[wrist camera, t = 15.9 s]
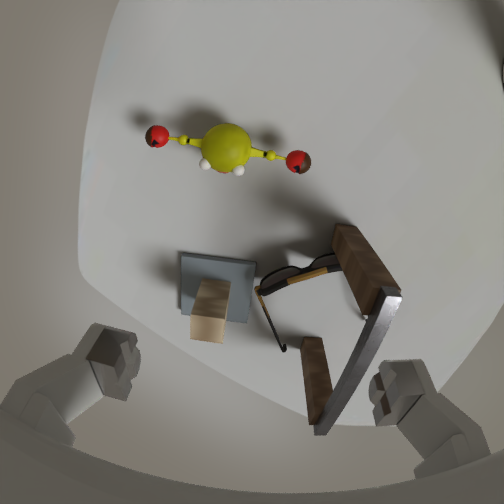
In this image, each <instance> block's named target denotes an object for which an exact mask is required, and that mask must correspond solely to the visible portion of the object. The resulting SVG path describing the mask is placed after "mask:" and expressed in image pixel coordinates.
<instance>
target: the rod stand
mask: <svg viewBox="0 0 504 504" xmlns="http://www.w3.org/2000/svg"><path fill="white" fill-rule="evenodd" d="M331 246H332V248H333V250H334V252H335V255H336V257H337V259H338V261H339V263H340V265H341V268H342V270H343V272H344V274H345V276H346V279H347V281H348V283H349V285H350V288H351V290H352V292H353V294H354V297H355V299H356V301H357V304H358V306H359V308H360V311H361V313H362V315H369V314H370V312H371V309H372V307H373V304H374V302H375V299H376V297H377V294H378V292H379V289H380V286H389V287H396V288H397V290H398V291H399V293H400V292H401V289H400V287H399V286H398V284H397V283H396V281H395V280H394V278H393V277H392V275H391V274H390V272H389V271H388V270H387V268H386V267H385V265H384V264H383V262H382V261H381V259H380V258H379V257H378V255H377V254H376V252H375V251H374V250H373V248H372V247H371V245H370V244H369V243H368V241H367V240H366V239H365V237H364V236H363V235H362V233H361V232H360V231H359V229H358V228H357V227H354V226H347V225H341V224H336V225H335V229H334V233H333V237H332V241H331ZM300 353H301V360H302V368H303V377H304V385H305V394H306V402H307V411H308V420H309V425H314V424H315V422H316V421H317V419H318V417H319V416H320V414H321V412H322V410H323V409H324V407H325V405H326V403H327V401H328V399H329V398H330V396H331V394H332V392H333V389H332V384H331V379H330V374H329V369H328V364H327V359H326V355H325V350H324V345H323V341H322V338H314V337H304V339H303V342H302V345H301V348H300Z"/></svg>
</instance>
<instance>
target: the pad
mask: <svg viewBox="0 0 504 504" xmlns="http://www.w3.org/2000/svg"><path fill="white" fill-rule="evenodd" d="M255 268H256V262H251V261H243V260H235V259H227V258H219V257H212V256H204V255H196V254H188V253H183V254H182V256H181V314H182V315H189V316H191V311H192V308H193V305H194V302H195V299H196V296H197V293H198V290H199V287H200V284H201V281H202V278H204V279H211V280H218V281H226V282H231V288H230V297H229V306H228V312H227V318H226V321H232V322H240V323H247V320H248V314H249V307H250V301H251V294H252V288H253V281H254V274H255Z"/></svg>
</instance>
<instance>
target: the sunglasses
mask: <svg viewBox="0 0 504 504" xmlns="http://www.w3.org/2000/svg"><path fill="white" fill-rule="evenodd" d="M337 271H343V270H342V268H341V265H340V263H339V261H338V259H337V257H336V255H335V252H334V253H329V254H325V255H322V256H320V257H317V258H316V259H315V260H314V261H313V262H312V263H311V264H310V265H309V266H308V267H305V268H299V267H296V266H287V267H283V268H281V269H278V270H276V271H273V272H271V273H270V274H268V275H267V276H265V277H264V278H263V279H262V280H261V282H260V285H259V286H256V287H255V288H254V290H255V292H256V295H257V297H258V299H259V301H260V303H261V305H262V308H263V310H264V312H265V315H266V317H267V319H268V321H269V324H270V326H271V328H272V330H273V333H274V335H275V337H276V339H277V342H278V344H279V346H280V348H281V350H282V352H286V350H287V348H286V344H283V347H282V345H281V343H280V340H279V338H278V335H277V333H276V330H275V328H274V326H273V323H272V321H271V319H270V316H269V314H268V311H267V309H266V307H265V304H264V302H263V300H262V297H261V295H262V296H267V295H269V294H271V293H273V292H275V291H277V290H279V289H281V288H283V287H286V286H288V285H290V284H293V283H296V282H300V281H303V280H307V279H310V278H313V277H316V276H319V275H322V274H326V273H331V272H337ZM368 316H369V315H368ZM365 321H367V319H366V320H365Z"/></svg>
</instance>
